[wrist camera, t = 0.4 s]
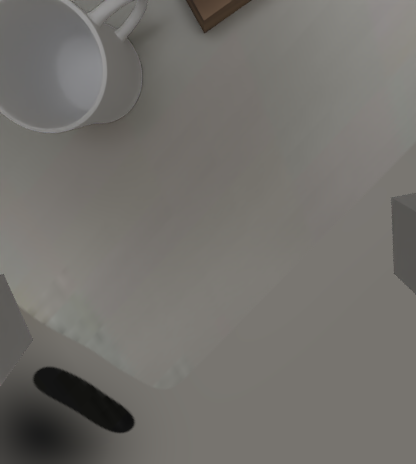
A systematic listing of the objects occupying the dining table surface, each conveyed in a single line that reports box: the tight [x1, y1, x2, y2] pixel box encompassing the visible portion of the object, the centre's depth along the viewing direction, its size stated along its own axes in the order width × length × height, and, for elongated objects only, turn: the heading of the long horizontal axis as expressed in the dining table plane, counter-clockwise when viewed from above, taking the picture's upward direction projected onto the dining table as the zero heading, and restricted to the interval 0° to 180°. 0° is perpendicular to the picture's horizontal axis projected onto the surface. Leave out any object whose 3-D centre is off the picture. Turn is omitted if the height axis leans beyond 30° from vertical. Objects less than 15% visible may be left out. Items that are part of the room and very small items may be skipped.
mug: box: [0, 0, 148, 133], centre depth 28 cm, size 12×8×12 cm
